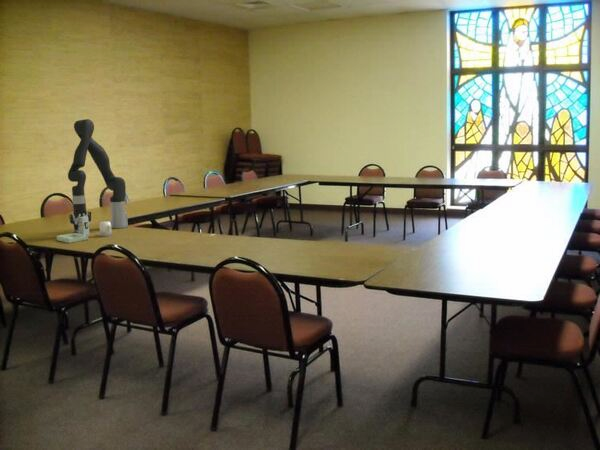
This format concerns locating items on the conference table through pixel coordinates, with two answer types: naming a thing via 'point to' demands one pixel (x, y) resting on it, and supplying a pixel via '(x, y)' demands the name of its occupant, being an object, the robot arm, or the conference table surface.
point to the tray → (72, 238)
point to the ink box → (82, 225)
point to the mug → (105, 228)
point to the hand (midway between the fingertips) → (81, 229)
